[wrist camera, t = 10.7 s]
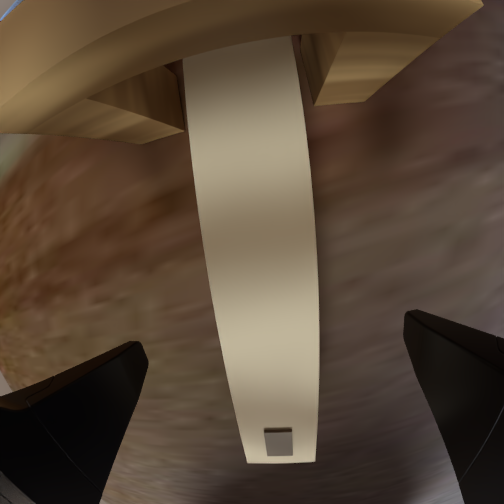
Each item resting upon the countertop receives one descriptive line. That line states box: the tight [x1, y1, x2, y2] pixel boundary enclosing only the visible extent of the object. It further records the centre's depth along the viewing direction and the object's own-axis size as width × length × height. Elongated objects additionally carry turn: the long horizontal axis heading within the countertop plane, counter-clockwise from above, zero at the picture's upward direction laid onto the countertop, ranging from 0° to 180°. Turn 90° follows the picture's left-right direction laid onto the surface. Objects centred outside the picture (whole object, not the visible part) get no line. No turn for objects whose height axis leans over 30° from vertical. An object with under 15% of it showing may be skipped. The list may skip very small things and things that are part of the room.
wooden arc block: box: [0, 0, 484, 144], centre depth 7 cm, size 3×11×10 cm, turn 101°
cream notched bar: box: [183, 36, 319, 463], centre depth 11 cm, size 22×3×5 cm, turn 7°
